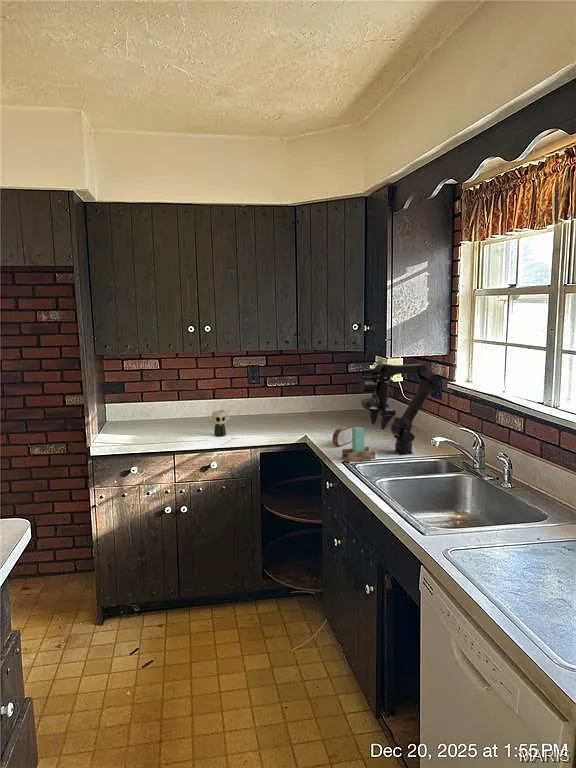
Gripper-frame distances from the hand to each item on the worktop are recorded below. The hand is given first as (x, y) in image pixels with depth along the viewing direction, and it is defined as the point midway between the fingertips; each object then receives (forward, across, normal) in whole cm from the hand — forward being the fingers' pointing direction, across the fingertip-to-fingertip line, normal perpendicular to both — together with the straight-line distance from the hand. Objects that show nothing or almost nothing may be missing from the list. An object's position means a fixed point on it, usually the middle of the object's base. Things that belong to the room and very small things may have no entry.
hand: (377, 427), depth 252 cm
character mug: (+22, -68, -56) cm, 91 cm away
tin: (+15, -24, -4) cm, 29 cm away
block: (+13, +2, -9) cm, 16 cm away
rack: (+14, +2, -9) cm, 17 cm away
